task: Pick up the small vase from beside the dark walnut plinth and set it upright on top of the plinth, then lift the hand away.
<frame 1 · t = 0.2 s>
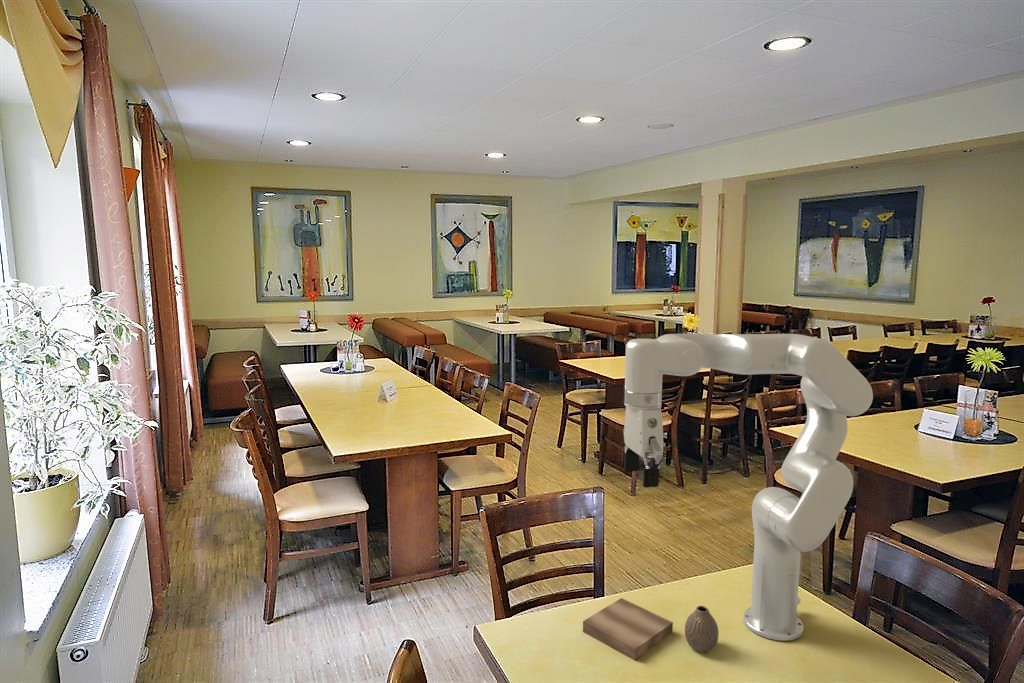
hand: (640, 478, 133), 36 cm above the table, tool pointing down, fingers open, 9 cm apart
vase: (700, 647, 136), on the table
plinth: (627, 632, 141), on the table
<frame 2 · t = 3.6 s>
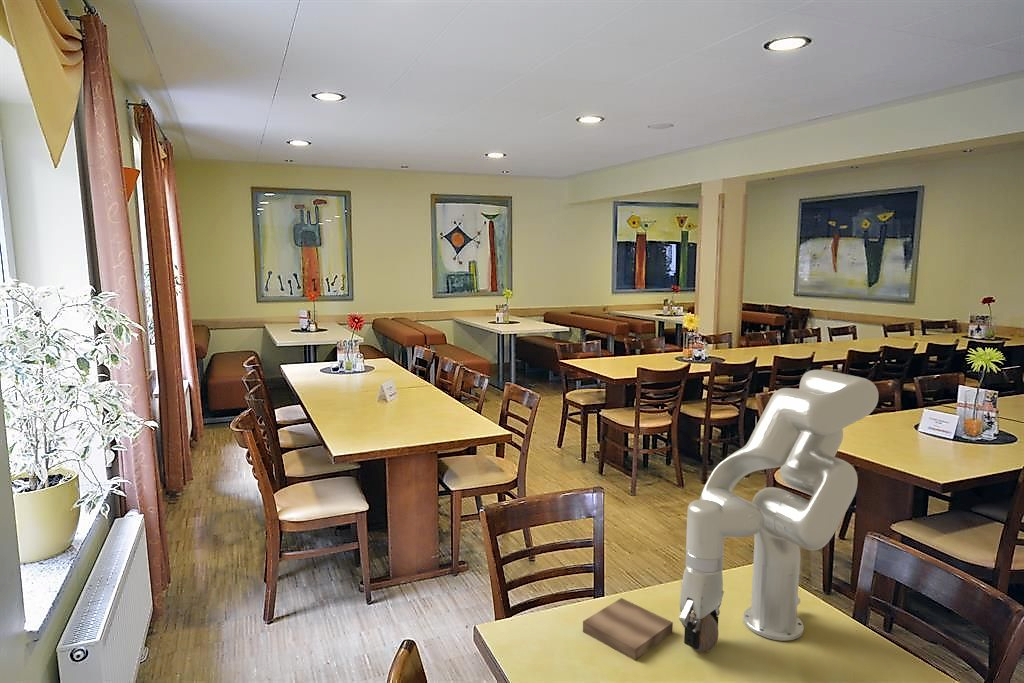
hand: (701, 638, 135), 2 cm above the table, tool pointing down, fingers closed on vase, 6 cm apart
vase: (700, 647, 136), on the table, touching gripper
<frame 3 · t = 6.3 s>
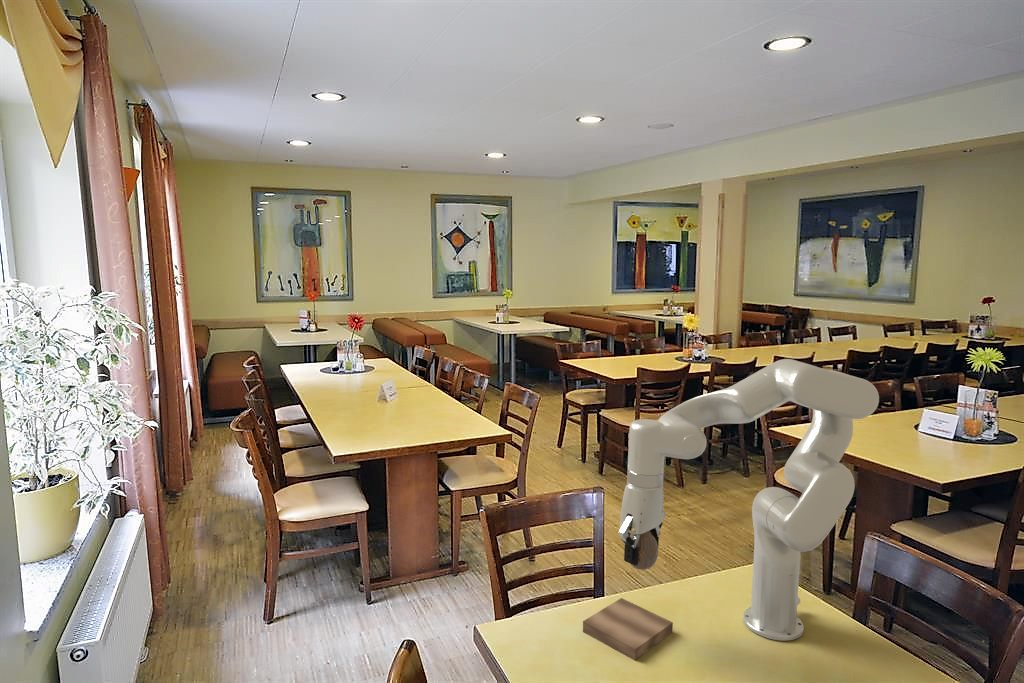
hand: (641, 556, 137), 18 cm above the table, tool pointing down, fingers closed on vase, 6 cm apart
vase: (641, 566, 138), point 16 cm above the table, touching gripper
when the fingers open (6 cm above the table, at t = 9.4 s): vase drops 1 cm, resting on plinth.
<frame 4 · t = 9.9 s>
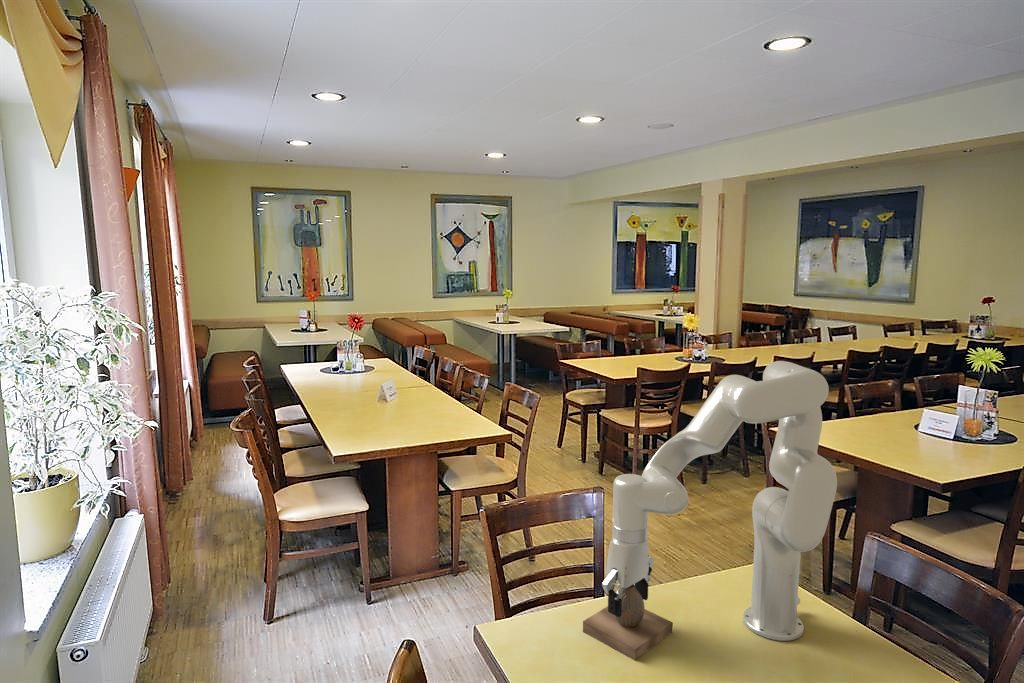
hand: (628, 605, 140), 6 cm above the table, tool pointing down, fingers open, 9 cm apart
vase: (628, 623, 140), point 2 cm above the table, touching plinth
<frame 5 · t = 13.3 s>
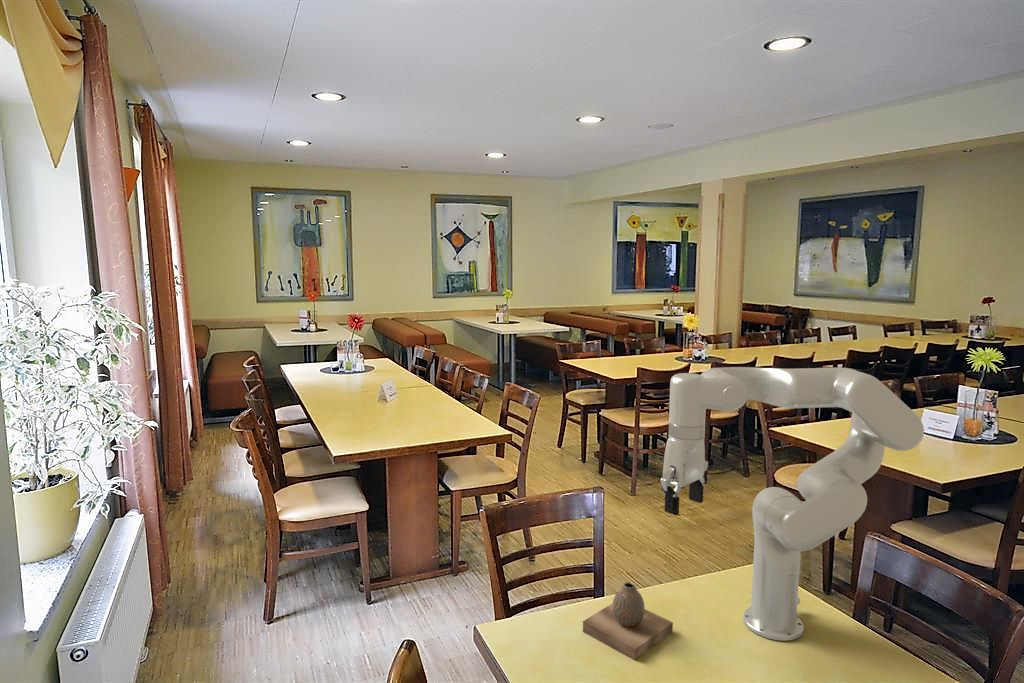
hand: (684, 507, 139), 28 cm above the table, tool pointing down, fingers open, 9 cm apart
nothing on the table moved.
at the end: vase inside the target area on the plinth (0.2 cm from its centre), point 2.3 cm above the plinth's base; vase tilted 0°; the gripper is holding nothing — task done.
